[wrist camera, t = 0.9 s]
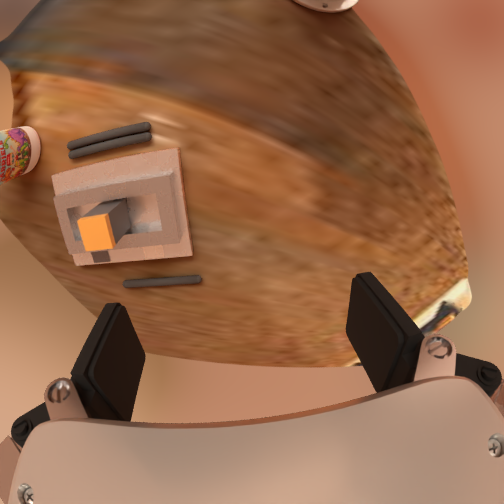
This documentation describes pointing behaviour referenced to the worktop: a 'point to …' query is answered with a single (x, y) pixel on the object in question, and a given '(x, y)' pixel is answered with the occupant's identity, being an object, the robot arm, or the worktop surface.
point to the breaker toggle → (104, 225)
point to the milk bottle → (18, 152)
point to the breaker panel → (128, 206)
